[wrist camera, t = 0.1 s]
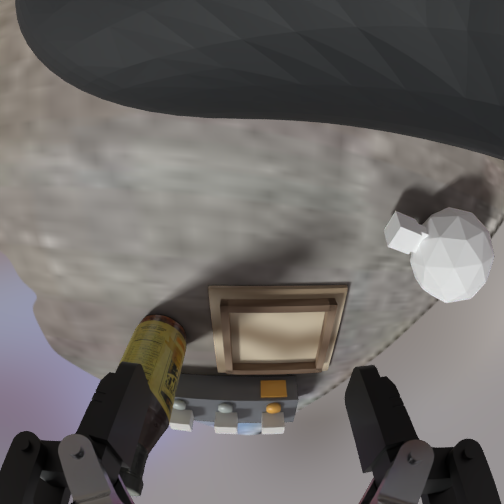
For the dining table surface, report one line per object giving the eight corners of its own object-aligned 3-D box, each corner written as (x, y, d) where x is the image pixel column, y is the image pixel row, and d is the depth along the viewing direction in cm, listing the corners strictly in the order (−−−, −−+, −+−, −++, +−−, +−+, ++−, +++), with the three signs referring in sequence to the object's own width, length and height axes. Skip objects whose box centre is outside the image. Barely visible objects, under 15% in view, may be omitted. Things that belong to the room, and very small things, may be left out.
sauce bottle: (181, 355, 33) (150, 505, 16) (135, 338, 32) (82, 481, 14) (196, 320, 31) (160, 497, 13) (143, 300, 29) (74, 466, 12)
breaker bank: (160, 370, 35) (150, 408, 29) (295, 374, 35) (300, 414, 29) (170, 395, 38) (162, 430, 32) (290, 399, 38) (294, 435, 32)
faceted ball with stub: (487, 210, 22) (403, 164, 22) (522, 271, 16) (434, 224, 16) (446, 265, 28) (365, 233, 28) (465, 328, 22) (373, 303, 22)
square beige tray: (209, 285, 28) (206, 295, 27) (346, 284, 28) (351, 294, 27) (218, 368, 34) (217, 379, 33) (326, 366, 34) (328, 377, 33)
